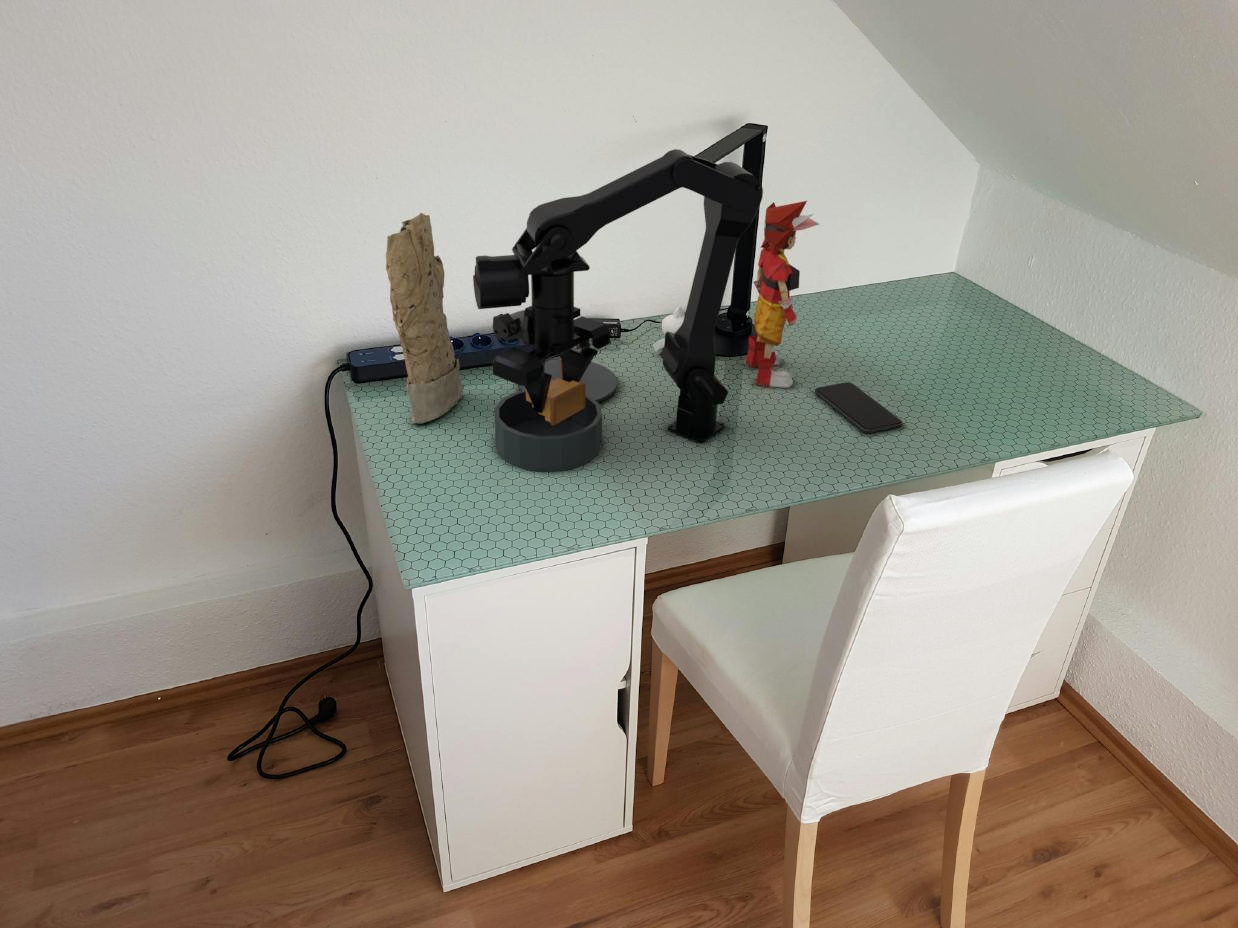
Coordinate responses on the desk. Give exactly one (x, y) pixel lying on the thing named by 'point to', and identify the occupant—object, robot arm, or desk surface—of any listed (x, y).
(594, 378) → the pan lid
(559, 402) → the tan stepped block
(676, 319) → the figurine
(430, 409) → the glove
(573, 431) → the pan
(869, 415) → the smartphone
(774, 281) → the toy
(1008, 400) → the desk surface
